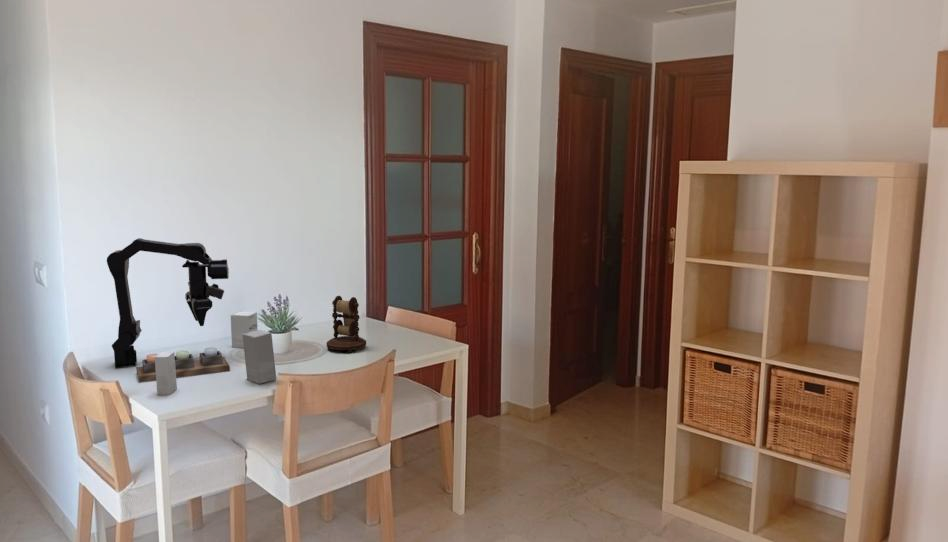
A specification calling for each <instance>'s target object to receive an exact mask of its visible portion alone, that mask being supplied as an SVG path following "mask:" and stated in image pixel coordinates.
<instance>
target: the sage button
mask: <svg viewBox="0 0 948 542" xmlns="http://www.w3.org/2000/svg"><path fill="white" fill-rule="evenodd" d="M189 354H190V351H189V350H179V351H176V352H175V356H176V360H182V359H189Z"/></svg>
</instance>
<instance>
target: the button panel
mask: <svg viewBox="0 0 948 542" xmlns="http://www.w3.org/2000/svg"><path fill="white" fill-rule="evenodd" d="M141 360H142V366H141V365H140V366H135V367H136V374H137V375H138V376H137V379H138V383H145V382H147V383H148V382H154V381H155V382H156V370H155V363H148V364H147V358H145V359H141ZM230 367H231V366H230V364H229V362H228V361H227V359H226V358H225V357H224V356H223V354H222V352H221V351H220V350H217V355H216V356H208V357H205V352H199V359H195V358H194V356H193V354H192V353H189V359H182V360H176V355H175V369H176V379H178V378H185V377H186V378H187V377H192V376H193V377H194V376H201V375H208V374H217V373H225V372H231V368H230Z"/></svg>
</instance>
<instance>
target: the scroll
mask: <svg viewBox="0 0 948 542" xmlns="http://www.w3.org/2000/svg"><path fill="white" fill-rule="evenodd" d="M331 305H332V307H333V308H332V313H331V314H332V315H331V316H332V319H333V325H332V329H333V337H332V338H331V339H329V340H327V342H326V348H327V350H328V351H330V350H336V351H348V353H349V354H351V353H352V351H353V350H357V349H361V348H365V347H366V346H367V340H366V339H365V338H363V337H361V336H360V335H359V332H360V327H359V320H360V318H361V317H360V315H359V310H358V309H359V306H360V304H359V302H358V299H357V298H356V297H354V296H353V297H350V299H349V300H344V299H343V297H342V296H341V295H337V296H335V298H334V300H332V301H331ZM338 318H342V319H343V321H342V320H341V319H338Z"/></svg>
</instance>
